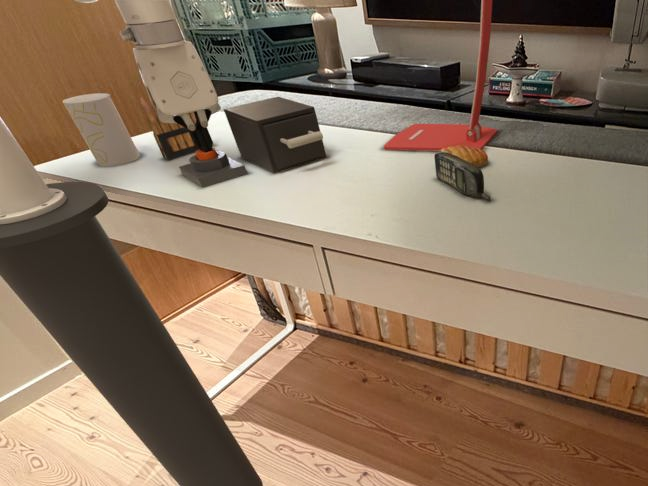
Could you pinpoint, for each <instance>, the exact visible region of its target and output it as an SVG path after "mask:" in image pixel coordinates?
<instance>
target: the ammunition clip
mask: <svg viewBox="0 0 648 486" xmlns="http://www.w3.org/2000/svg"><path fill="white" fill-rule="evenodd" d="M148 99H149V102H150V106H151V108H152V109H151V108H150V106H149V104H148V102H147V101H146V100H145V99H144V97H142V96H140V103H141V108H142V109H143V112H144V114H145V116H146V120H147V122H148V125H149V126H150V129H151V131H152V136H153V137H154V139H155V142H156V144H157V147H158V150H159V151H160V154H161V155H162V158H163V160H167V161H171V160H174V159H177V158H180V157H183V156H186V155H187V156H188V155H190V154H192V153H195V151H197V150H199V148H196V147H195V145H194V143H193V141H192V139H191V136H190V134H189V132H188V129H187V128H185V127H183V126H181V125H179V124H178V123H163V122H161V121H160V120H159V117H158V113H157V110H156V109H155V107H154V105H153V104H152V102H151V99H150V97H149V96H148ZM152 111H153V112H152ZM188 115H189V117H190V118H191V120H192V122H193V124H194V125H195V126H196V121H195V118H194V114H193V112H190V113H188ZM211 145H212V146H213V144H211Z"/></svg>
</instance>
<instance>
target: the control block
mask: <svg viewBox="0 0 648 486" xmlns="http://www.w3.org/2000/svg"><path fill="white" fill-rule="evenodd" d="M216 153H217V155H218V157H216V158H213V159H209V160H198V158H197V156H196V154H194V155H192V156H190V157H189V159H188V162H189V163H188V164H183V165H180V166H178V168H179V171H180V173H181V176H183V177H185V178H186V179H188V180H190V181H191V182H193V183H195V184H196V185H197V186H199V187H201V188H206V187H209V186H211V185H215V184H218V183H222V182H226V181H229V180H232V179H235V178H239V177H242V176H245V175H247V174H248V171H247V168H246V165H245V164H243V163H241V162H239V161H237V160H235V159H233V158H231V157H229V156H228V155H227V153H226V152H225V151H222V150H216Z"/></svg>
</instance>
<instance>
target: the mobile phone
mask: <svg viewBox="0 0 648 486" xmlns="http://www.w3.org/2000/svg"><path fill="white" fill-rule="evenodd" d="M434 165H435V166H434V167H435V176H436V178H437V179H438V180H440V181H442V182H444V183H446V184H447V185H449V186H451V187H452V188H454V189H455V190H457V191H458V192H459V193H461V194H463V195H466V196H471V197H478V196H479V197H482V198H483V199H486V200H491V198H492V197H491V195H489V194H487V193H486V192H485V177H484V173H483V170H482V169H481V168H480V167H479V168H478V167H476V166H475V165H473V164H472V163H470V162H468V161H465V160H463V159H461V158H459V157H458V156H455V155H453V154H450V153H446V152H441V151H440V152H437V153H435V154H434Z"/></svg>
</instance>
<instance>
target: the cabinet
mask: <svg viewBox="0 0 648 486" xmlns="http://www.w3.org/2000/svg"><path fill="white" fill-rule="evenodd" d="M223 113H224V114H225V117H226V120H227V122H228V125H229V128H230V130H231V133H232V136H233V139H234V141H235V144H236V147H237V149H238V152H239V154H240V157H241V159H243V160H245V161H247V162H249V163H251V164H253V165H255V166H257V167H259V168H262V169H263V170H265V171H267V172H270V173H272V174H278V173H280V172H284V171H287V170H290V169H293V168H296V167H299V166H302V165H306V164H310V163H312V162H315V161H318V160H322V159H325V158H327V154H326V155H323V156H320V157H317V158H313V159H310V160H307V161H304V162H301V163H297V164H294V165H291V166H288V167H284V168H281V169H276V168H275V165H274V162H273V159H272V156H271V153H270V150H269V147H268V144H267V141H266V138H265V134H264V131H263V128H262V124H266V123H270V122H274V121H278V120H282V119H286V118H290V117H294V116H298V115H302V114H310V113H315V114H316V115H317V113H316V109H315V107H314V106H312V105H308V104H306V103H301V102H298V101H294V100H291V99H288V98H284V97H281V96H275V97H271V98H266V99H261V100H257V101H253V102H248V103H243V104H239V105H238V104H237V105H235V106H230V107H229V106H228V107H225V108H223Z"/></svg>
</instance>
